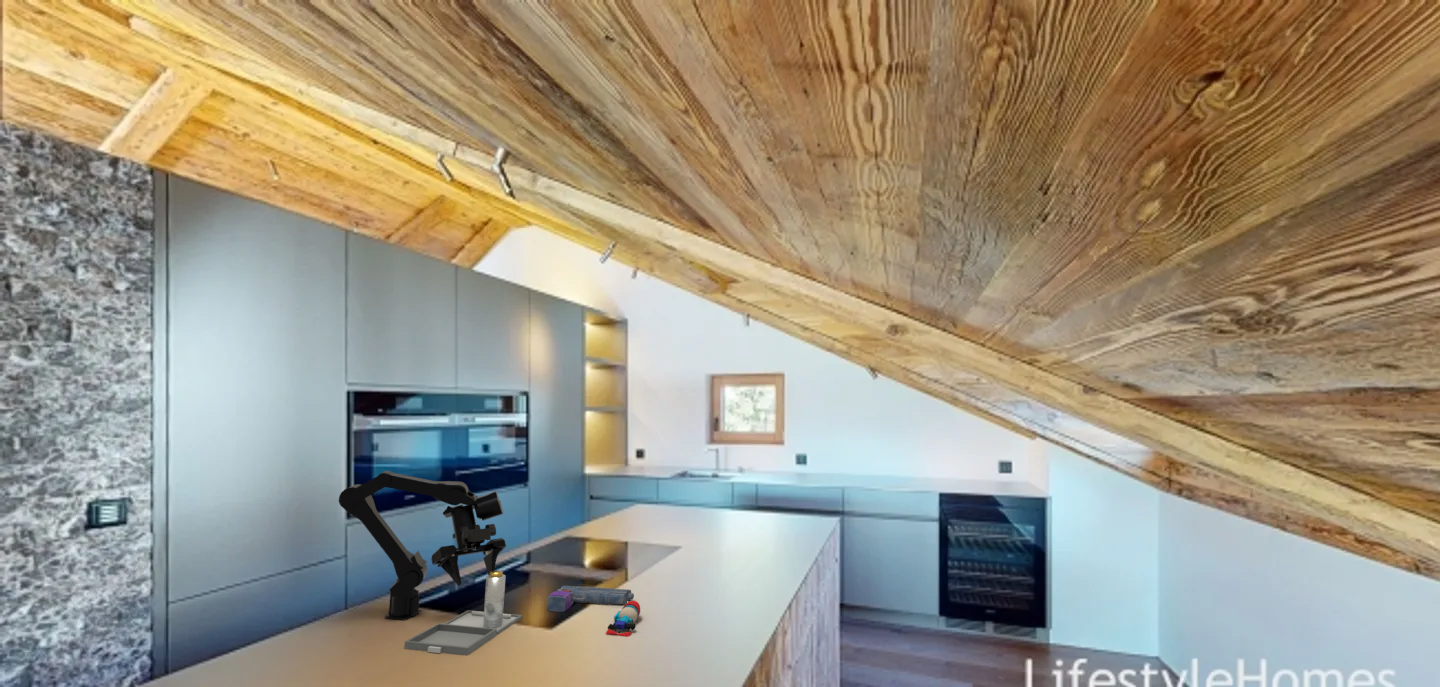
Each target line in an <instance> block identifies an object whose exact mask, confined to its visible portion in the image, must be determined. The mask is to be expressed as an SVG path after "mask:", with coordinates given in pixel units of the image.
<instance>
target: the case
mask: <svg viewBox="0 0 1440 687" xmlns="http://www.w3.org/2000/svg"><path fill="white" fill-rule="evenodd" d="M496 636H498V635H497V629H494V628H484V627H474V626H463V625H453V624H444V623H442V622H441V623H440V622H437V623H436V624H434V625H433V626H430V627H429V628H427V629H425V630H423V631H421V632H419V633H417V634H416V635H413V636H412V637H410V638H408V639H407V640H405V641H404V646H403V647H404V650H405V649H406V650H412V651H414V650H415V651H422V652H428V653H434V654H441V653H442V654H449V655H450V654H451V655H460V656H469V655H471V654H472V653H473V652H475V651H476V650H478V649H479V648H480V647H482V646H483V645H485V644H486V643H488V642H489V641H491V640H492V639H493V638H495V637H496Z"/></svg>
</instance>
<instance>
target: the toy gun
mask: <svg viewBox="0 0 1440 687" xmlns="http://www.w3.org/2000/svg"><path fill="white" fill-rule="evenodd" d="M556 589H557V590H554V591H553V592H551V593H549V596H547V599H546V611H549V612H554V613H555V612H558V613H559V612H566V611H567V610H569V609H570V608H571V607H572V605H573V604H574V603H581V604H587V603H590V604H596V603H597V604H599V605H603V604H605V605H610V604H615V605H617V604H619V605H625V604H627V603H626V602H627V601H629V600H630V601H634V598H635V597H634V596H635V594H634V592H633V593H632V590H631V589H624V588H623V589H622V588H612V587H611V588H610V587H609V588H608V587H594V586H593V587H591V586H574V585H573V586H572V585H563V586H561V587H560V588H556ZM630 601H629V602H630Z"/></svg>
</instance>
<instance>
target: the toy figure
mask: <svg viewBox="0 0 1440 687" xmlns="http://www.w3.org/2000/svg"><path fill="white" fill-rule="evenodd" d="M640 615H641V606H640V603H639V602H638V601H637V600H630V601H629V602H628V603H625V604H623V607H622V609H621V610H618V612H617V613H616V614H615V615H614V616H613V619H614V620H613V621H614V622H613V623H609V624H608V625H607V630H606V632H605V634H606V635H609V636H614V635H616V636H618V637H626V638H627V637H630V636H631V634H632V633H633V630H635V629H636V627H637V625H636V624H635V622H636V621H637V620H638V619H639V617H640ZM617 630H619V631H618V632H617ZM625 630H627V631H626V632H621V631H625ZM630 630H631V631H630Z"/></svg>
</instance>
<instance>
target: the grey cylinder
mask: <svg viewBox="0 0 1440 687" xmlns="http://www.w3.org/2000/svg"><path fill="white" fill-rule="evenodd" d="M506 576H507V575H506V574H503V570H495V571H492V572H490V575H488V574H487V576H486V578H485V580H486V581H485V593H484V608H483V609H484V610H483V612H484V619H483V627H484V628H498V627H500V626H502V622H503V614H504V606H505V604H504V603H505V592H506Z"/></svg>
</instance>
